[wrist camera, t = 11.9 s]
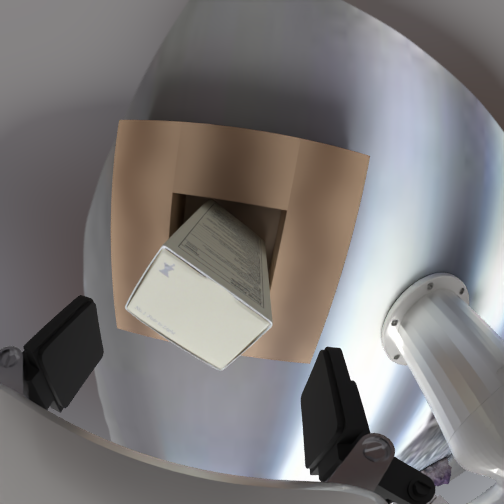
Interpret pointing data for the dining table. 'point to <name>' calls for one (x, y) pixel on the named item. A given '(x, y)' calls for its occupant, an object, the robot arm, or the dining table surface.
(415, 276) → the dining table surface
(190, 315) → the skincare box
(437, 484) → the geode
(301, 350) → the socket block
